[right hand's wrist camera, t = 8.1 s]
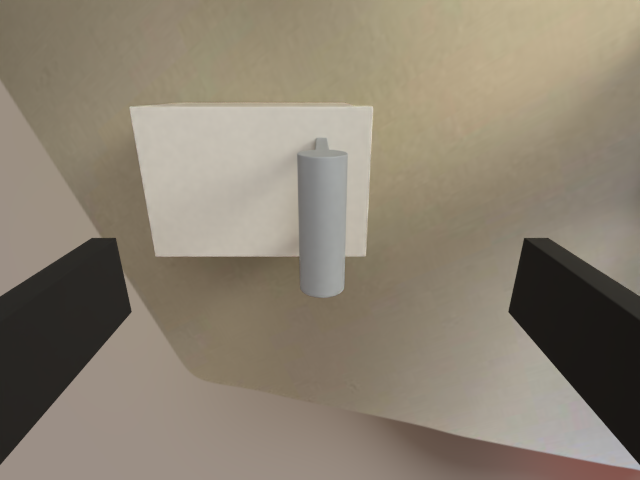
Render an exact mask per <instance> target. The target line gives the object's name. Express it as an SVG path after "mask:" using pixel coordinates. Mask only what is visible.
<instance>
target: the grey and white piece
mask: <svg viewBox="0 0 640 480" xmlns="http://www.w3.org/2000/svg"><path fill="white" fill-rule="evenodd" d="M129 109H130V115H131V120H132V126H133V132H134V137H135V143H136V149H137V154H138V160H139V166H140V171H141V177H142V183H143V188H144V194H145V200H146V205H147V211H148V217H149V222H150V228H151V234H152V239H153V245H154V251H155V256H156V257H299V262H300V289H301V290H302V292H303V293H305V294H307V295H309V296H312V297H318V298H326V297H332V296H336V295H338V294H340V293H341V292H342V291H343V289H344V279H345V257H365V256H366V243H367V223H368V203H369V182H370V162H371V141H372V121H373V107H372V106H130V107H129Z"/></svg>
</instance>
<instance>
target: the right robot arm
mask: <svg viewBox="0 0 640 480" xmlns="http://www.w3.org/2000/svg"><path fill="white" fill-rule="evenodd" d="M130 313H131V307H130V303H129V298H128V293H127V288H126V284H125V279H124V274H123V270H122V265H121V260H120V256H119V251H118V246H117V242H116V238H91V239H90V240H88V241H87V242H85V243H83V244H82V245H80V246H79V247H77V248H76V249H74V250H73V251H71V252H69V253H68V254H66V255H65V256H63V257H62V258H60V259H58V260H57V261H55V262H54V263H52V264H51V265H49V266H47V267H46V268H44V269H43V270H41V271H40V272H38V273H36V274H35V275H33V276H32V277H30V278H29V279H27V280H25V281H24V282H22V283H21V284H19V285H18V286H16V287H14V288H13V289H11V290H10V291H8V292H7V293H5V294H4V295H2V296H0V464H1V463H2V462H3V461H4V460H5V459H6V457H7V456H8V455H9V454H10V453H11V452H12V451H13V449H14V448H15V447H16V446H17V445H18V444H19V442H20V441H21V440H22V439H23V438H24V437H25V435H26V434H27V433H28V432H29V431H30V430H31V428H32V427H33V426H34V425H35V424H36V423H37V421H38V420H39V419H40V418H41V417H42V416H43V414H44V413H45V412H46V411H47V410H48V409H49V407H50V406H51V405H52V404H53V403H54V402H55V400H56V399H57V398H58V397H59V396H60V395H61V393H62V392H63V391H64V390H65V389H66V388H67V386H68V385H69V384H70V383H71V382H72V381H73V379H74V378H75V377H76V376H77V375H78V374H79V373H80V371H81V370H82V369H83V368H84V367H85V365H86V364H87V363H88V362H89V361H90V360H91V359H92V357H93V356H94V355H95V354H96V353H97V352H98V350H99V349H100V348H101V347H102V346H103V345H104V343H105V342H106V341H107V340H108V339H109V338H110V336H111V335H112V334H113V333H114V332H115V331H116V329H117V328H118V327H119V326H120V325H121V324H122V322H123V321H124V320H125V319H126V318H127V317H128V315H129V314H130ZM509 313H510V314H511V315H512V317H513V318H514V319H515V320H516V321H517V322H518V324H519V325H520V326H521V327H522V328H523V329H524V331H525V332H526V333H527V334H528V335H529V336H530V338H531V339H532V340H533V341H534V342H535V343H536V345H537V346H538V347H539V348H540V349H541V350H542V352H543V353H544V354H545V355H546V356H547V357H548V359H549V360H550V361H551V362H552V363H553V364H554V366H555V367H556V368H557V369H558V370H559V371H560V373H561V374H562V375H563V376H564V377H565V378H566V380H567V381H568V382H569V383H570V384H571V385H572V386H573V388H574V389H575V390H576V391H577V392H578V393H579V395H580V396H581V397H582V398H583V399H584V400H585V402H586V403H587V404H588V405H589V406H590V407H591V409H592V410H593V411H594V412H595V413H596V414H597V416H598V417H599V418H600V419H601V420H602V421H603V423H604V424H605V425H606V426H607V427H608V428H609V430H610V431H611V432H612V433H613V434H614V435H615V437H616V438H617V439H618V440H619V441H620V442H621V444H622V445H623V446H624V447H625V448H626V449H627V451H628V452H629V453H630V454H631V455H632V456H633V457H634V459H635V460H636V461H637V462H638V463H639V464H640V296H638V295H636V294H635V293H633V292H632V291H630V290H629V289H627V288H626V287H624V286H622V285H621V284H619V283H618V282H616V281H615V280H613V279H611V278H610V277H608V276H607V275H605V274H604V273H602V272H600V271H599V270H597V269H596V268H594V267H593V266H591V265H589V264H588V263H586V262H585V261H583V260H582V259H580V258H579V257H577V256H575V255H574V254H572V253H571V252H569V251H568V250H566V249H564V248H563V247H561V246H560V245H558V244H557V243H555V242H553V241H552V240H550V239H549V238H524V242H523V246H522V251H521V256H520V260H519V265H518V270H517V274H516V279H515V284H514V288H513V293H512V298H511V302H510V307H509Z"/></svg>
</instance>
